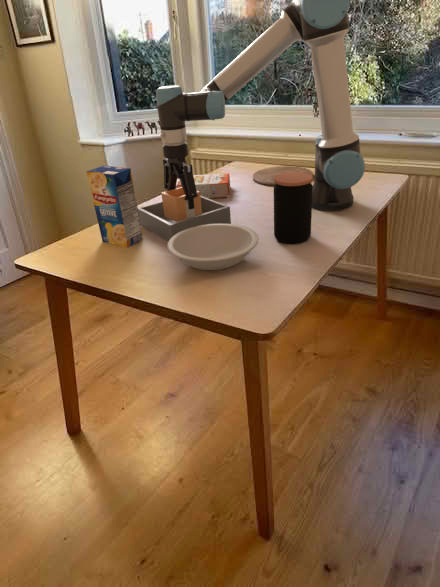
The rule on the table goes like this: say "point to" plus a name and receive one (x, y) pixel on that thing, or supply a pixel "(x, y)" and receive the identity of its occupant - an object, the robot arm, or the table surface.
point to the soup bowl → (213, 245)
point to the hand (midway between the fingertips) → (183, 214)
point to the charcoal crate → (167, 228)
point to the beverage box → (115, 205)
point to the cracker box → (211, 185)
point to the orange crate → (178, 204)
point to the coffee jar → (292, 207)
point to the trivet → (268, 174)
